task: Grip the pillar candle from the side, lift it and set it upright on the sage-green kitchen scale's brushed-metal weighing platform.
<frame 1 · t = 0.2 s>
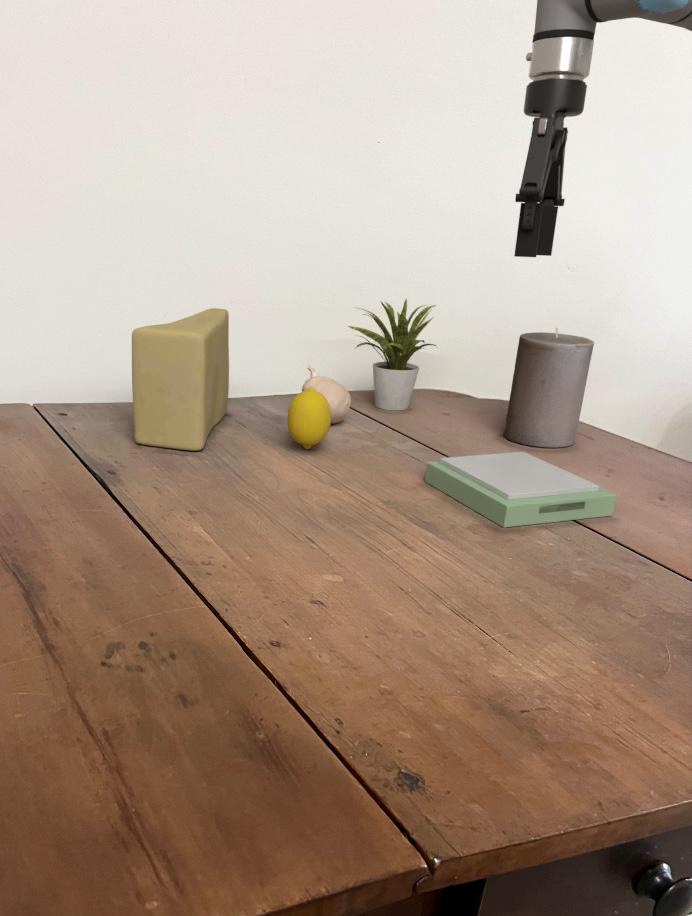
hand: (533, 256, 127), 23 cm above the table, tool pointing down, fingers open, 13 cm apart
pillar candle: (539, 440, 128), on the table
scale: (514, 498, 104), on the table
lemon: (307, 450, 119), on the table
cheese: (196, 430, 127), on the table
garlic bulb: (324, 424, 132), on the table
house plant: (393, 405, 144), on the table
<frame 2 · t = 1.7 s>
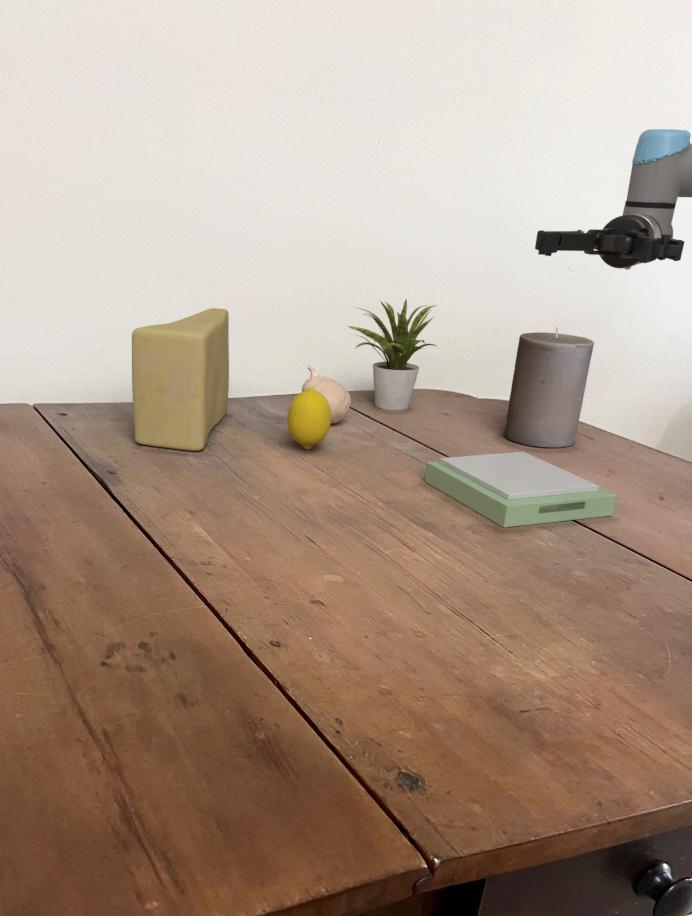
hand: (591, 247, 125), 25 cm above the table, tool horizontal, fingers open, 13 cm apart
nothing on the table moved.
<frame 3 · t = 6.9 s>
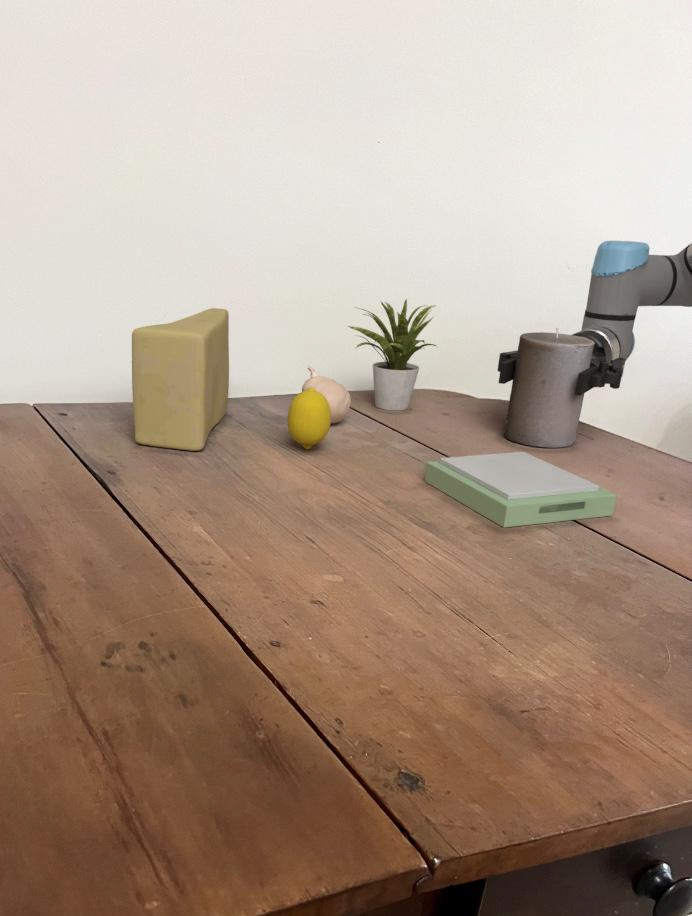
hand: (540, 378, 121), 9 cm above the table, tool horizontal, fingers closed on pillar candle, 9 cm apart
pillar candle: (539, 440, 128), on the table, touching gripper
everything else where it was.
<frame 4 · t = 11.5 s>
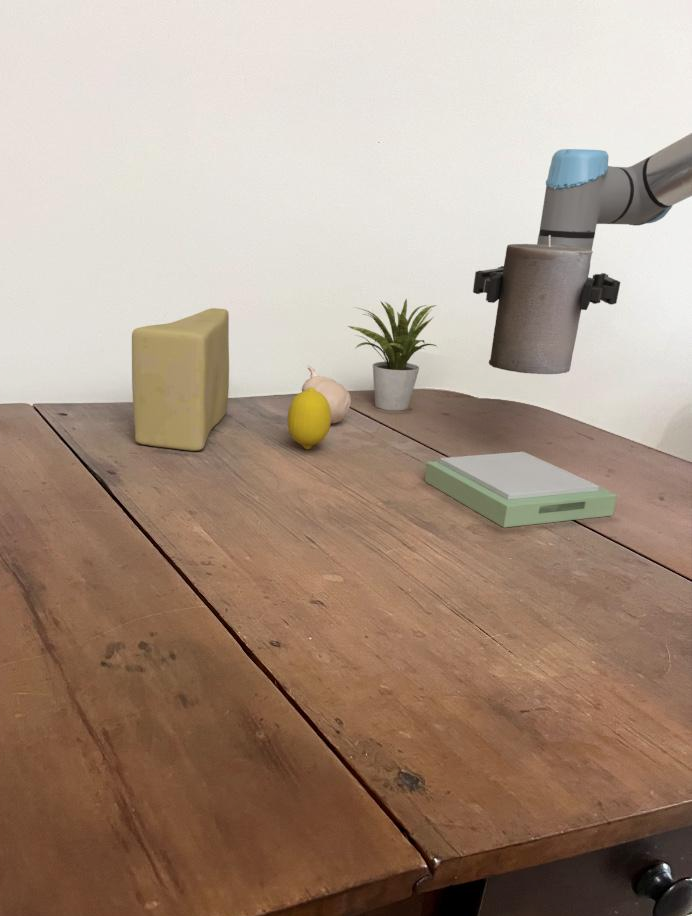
hand: (538, 293, 104), 21 cm above the table, tool horizontal, fingers closed on pillar candle, 9 cm apart
pillar candle: (529, 368, 112), point 12 cm above the table, touching gripper
everything else where it was.
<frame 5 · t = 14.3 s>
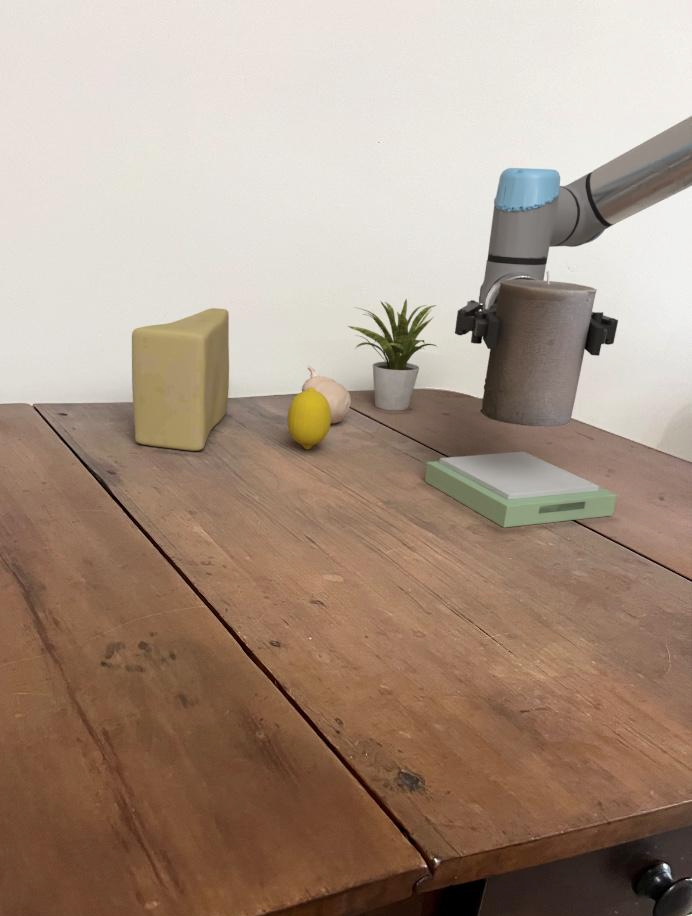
hand: (545, 338, 92), 18 cm above the table, tool horizontal, fingers closed on pillar candle, 9 cm apart
pillar candle: (525, 418, 100), point 9 cm above the table, touching gripper
everything else where it was.
when the fingers open (12 cm above the table, at t = 16.5 s): pillar candle stays where it is, resting on scale.
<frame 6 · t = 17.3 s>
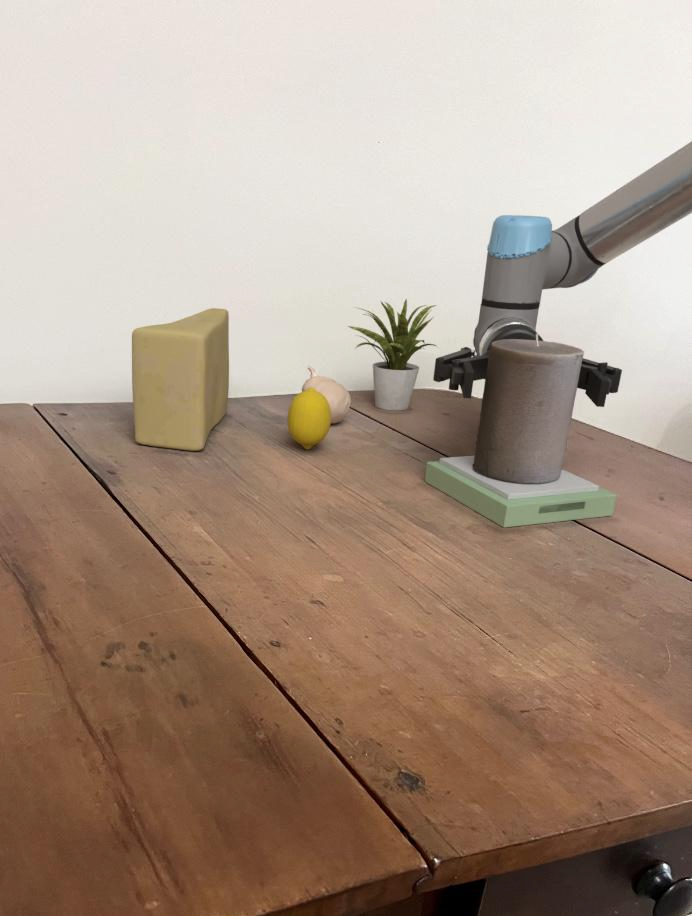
hand: (535, 389, 96), 13 cm above the table, tool horizontal, fingers open, 13 cm apart
pillar candle: (516, 473, 103), point 3 cm above the table, touching scale
everything else where it was.
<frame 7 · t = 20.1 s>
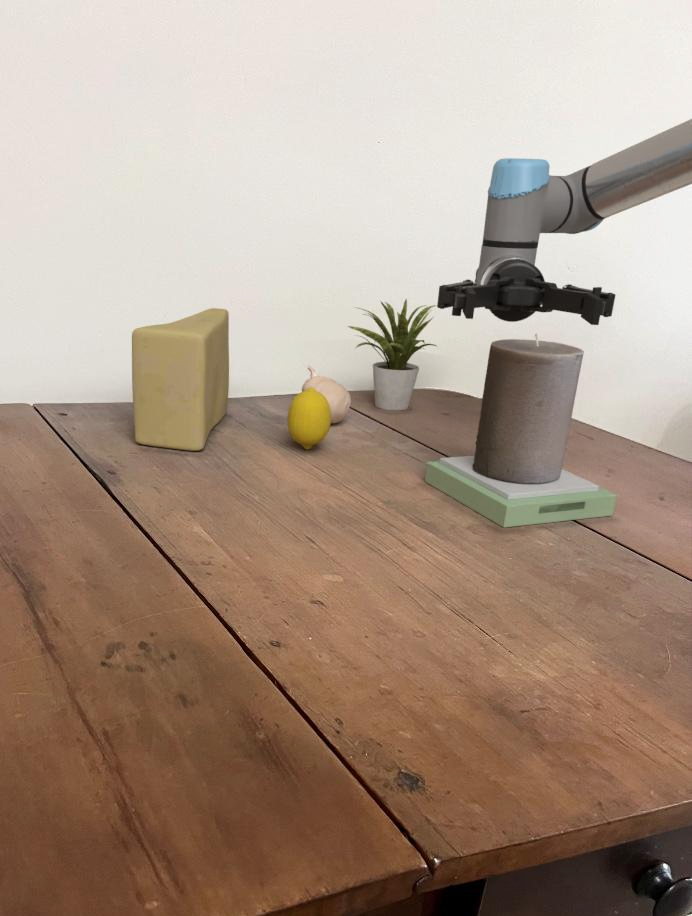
hand: (533, 309, 102), 20 cm above the table, tool horizontal, fingers open, 13 cm apart
nothing on the table moved.
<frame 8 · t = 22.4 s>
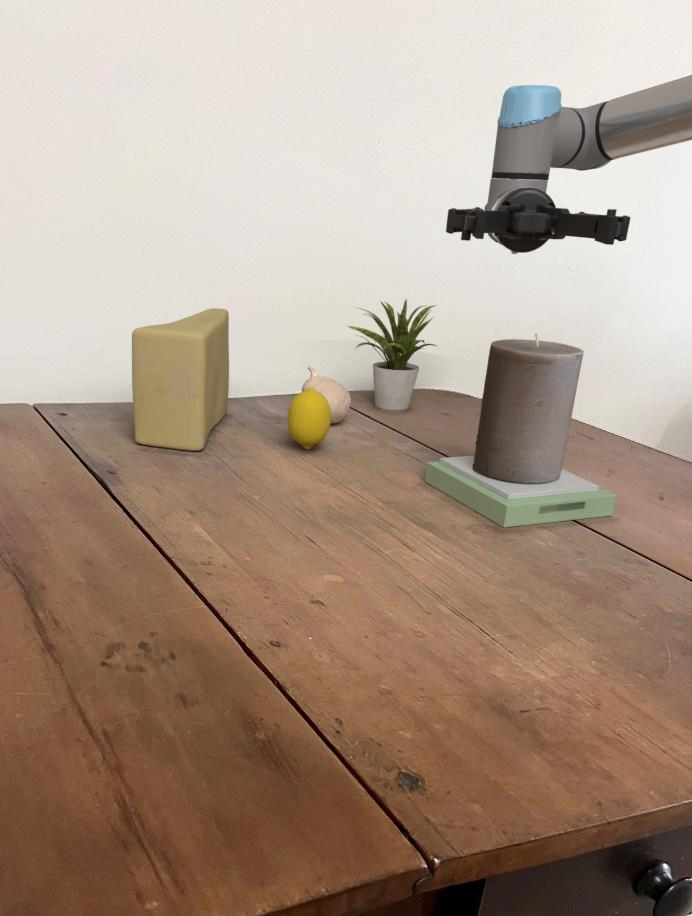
hand: (546, 228, 98), 28 cm above the table, tool horizontal, fingers open, 13 cm apart
nothing on the table moved.
at the end: pillar candle inside the target area on the scale (0.0 cm from its centre), point 2.8 cm above the scale's base; pillar candle tilted 0°; the gripper is holding nothing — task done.
